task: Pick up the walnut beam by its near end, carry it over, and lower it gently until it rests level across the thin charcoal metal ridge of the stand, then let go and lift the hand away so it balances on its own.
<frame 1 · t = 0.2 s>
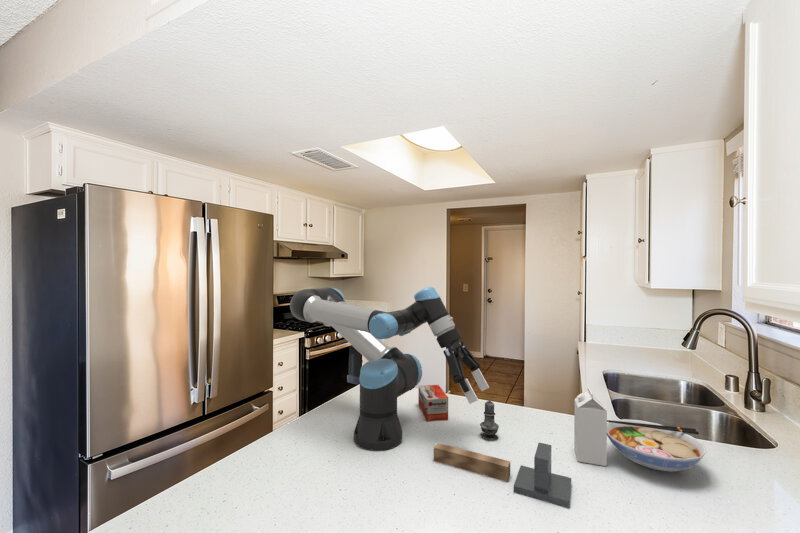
hand: (480, 395, 108), 15 cm above the worktop, tool tilted 30°, fingers open, 13 cm apart
ridge stand: (542, 488, 87), on the worktop
grey stone chess piece: (489, 437, 113), on the worktop
ramen bowl: (651, 464, 98), on the worktop
walnut beam: (470, 469, 95), on the worktop
medicine box: (432, 413, 132), on the worktop
milk carton: (589, 458, 101), on the worktop
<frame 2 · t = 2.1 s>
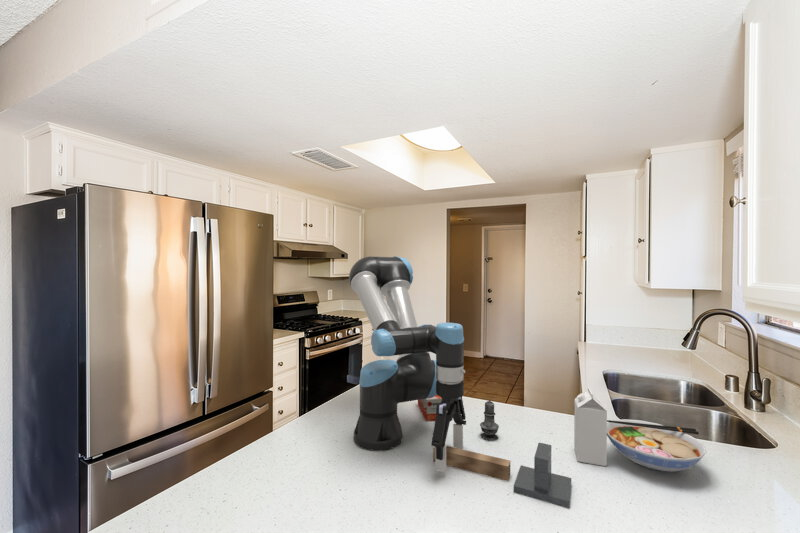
hand: (450, 458, 98), 1 cm above the worktop, tool pointing down, fingers open, 13 cm apart
nothing on the worktop moved.
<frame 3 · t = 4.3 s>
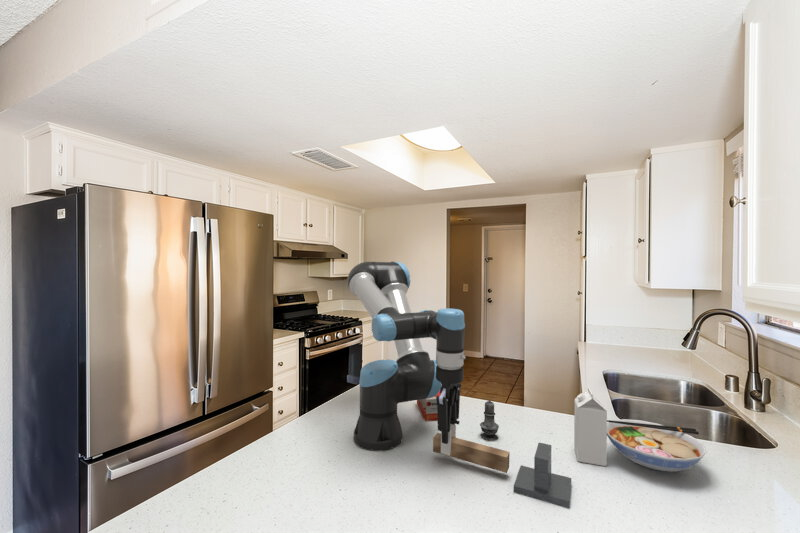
hand: (448, 450, 99), 3 cm above the worktop, tool pointing down, fingers closed on walnut beam, 3 cm apart
walnut beam: (469, 459, 96), point 2 cm above the worktop, touching gripper
everything else where it was.
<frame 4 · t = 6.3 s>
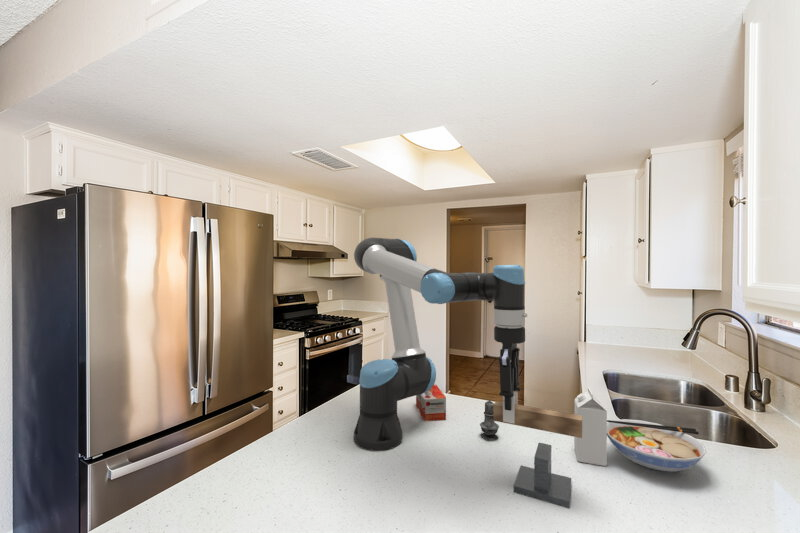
hand: (510, 419, 90), 15 cm above the worktop, tool pointing down, fingers closed on walnut beam, 3 cm apart
walnut beam: (536, 426, 87), point 15 cm above the worktop, touching gripper
everything else where it was.
when the fingers open (10 cm above the worktop, at t = 8.4 s): walnut beam stays where it is, resting on ridge stand.
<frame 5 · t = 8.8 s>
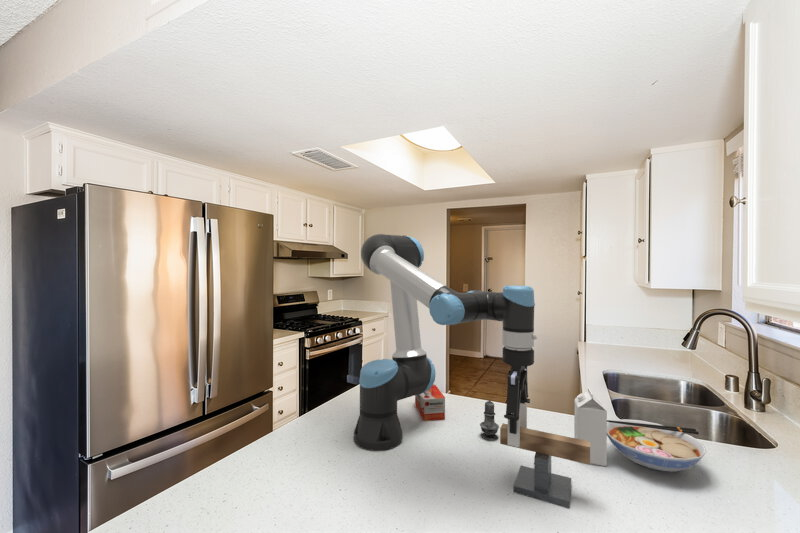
hand: (517, 436, 90), 11 cm above the worktop, tool pointing down, fingers open, 10 cm apart
walnut beam: (543, 450, 87), point 9 cm above the worktop, touching ridge stand
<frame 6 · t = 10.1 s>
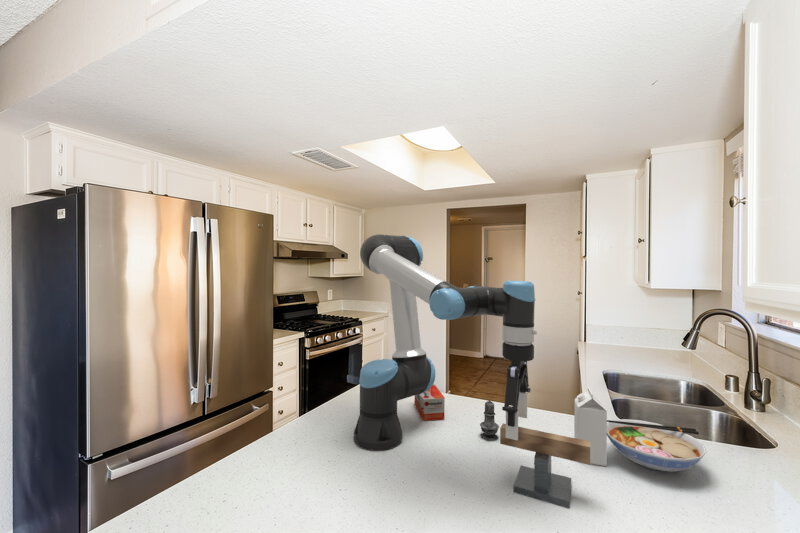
hand: (517, 427, 90), 13 cm above the worktop, tool pointing down, fingers open, 13 cm apart
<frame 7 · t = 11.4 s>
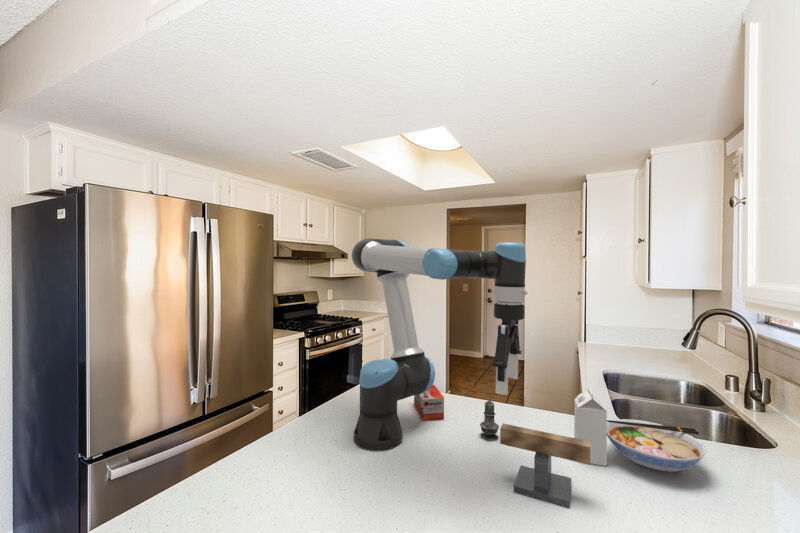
hand: (507, 385, 92), 23 cm above the worktop, tool pointing down, fingers open, 13 cm apart
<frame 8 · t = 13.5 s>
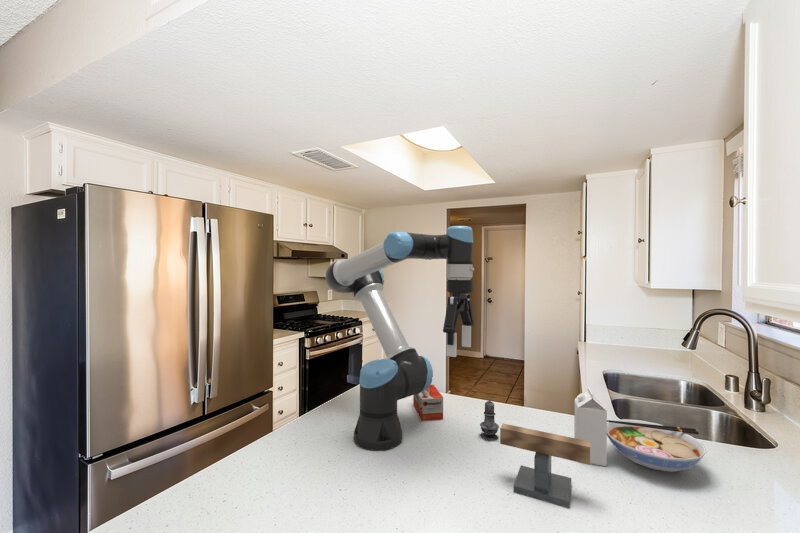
hand: (459, 351, 105), 29 cm above the worktop, tool pointing down, fingers open, 13 cm apart
at the end: walnut beam 0.0 cm off-centre on the ridge stand, point 9.0 cm above the ridge stand's base; walnut beam tilted 0°; walnut beam touching ridge stand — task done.
